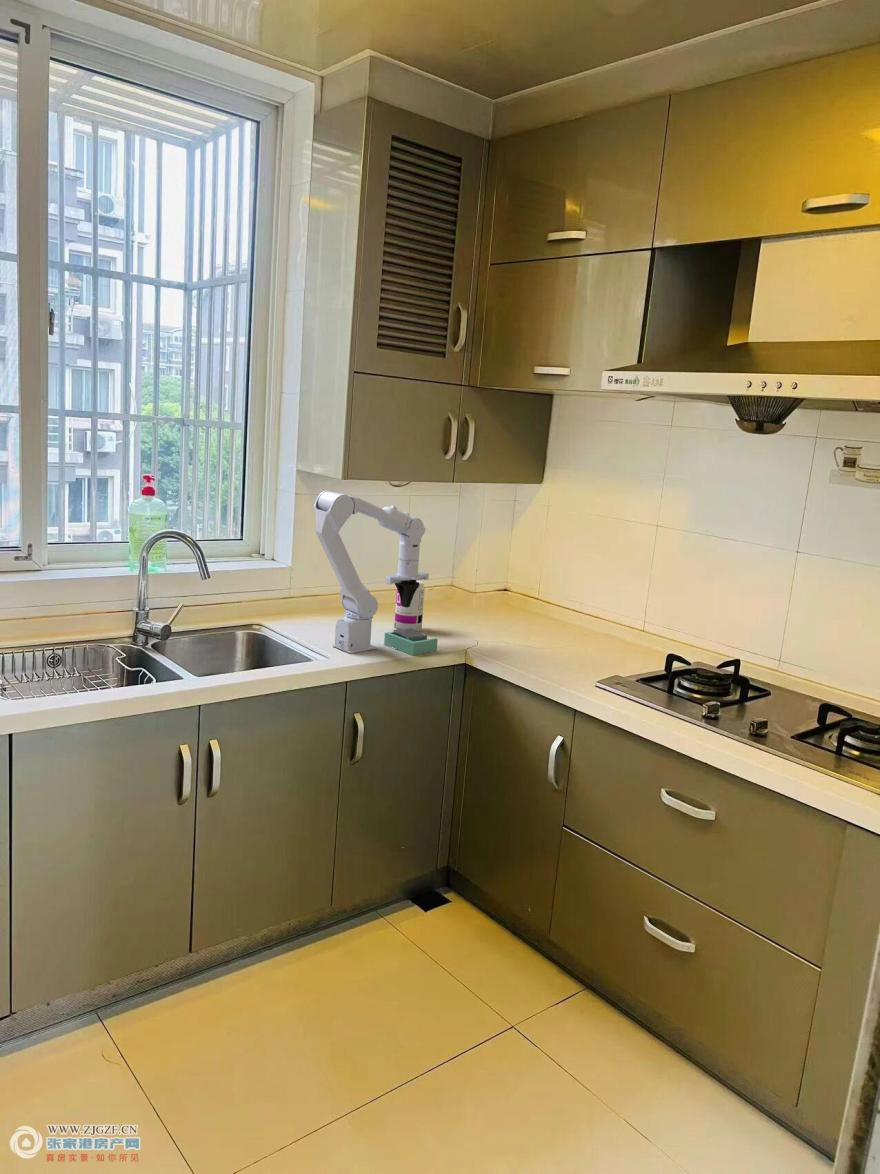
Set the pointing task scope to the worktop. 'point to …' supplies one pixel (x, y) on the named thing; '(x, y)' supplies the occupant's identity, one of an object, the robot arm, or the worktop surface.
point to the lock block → (410, 634)
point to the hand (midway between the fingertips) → (405, 606)
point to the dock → (410, 644)
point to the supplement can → (410, 611)
